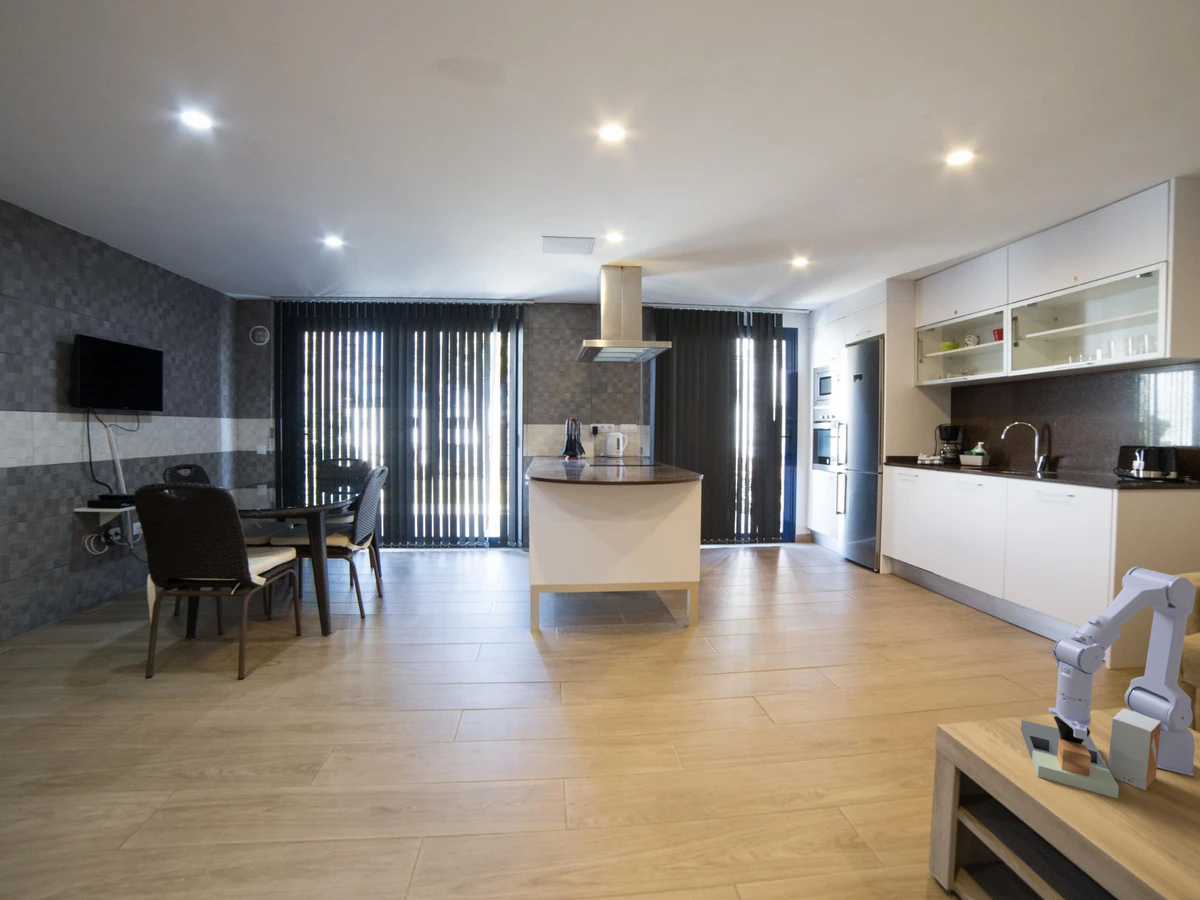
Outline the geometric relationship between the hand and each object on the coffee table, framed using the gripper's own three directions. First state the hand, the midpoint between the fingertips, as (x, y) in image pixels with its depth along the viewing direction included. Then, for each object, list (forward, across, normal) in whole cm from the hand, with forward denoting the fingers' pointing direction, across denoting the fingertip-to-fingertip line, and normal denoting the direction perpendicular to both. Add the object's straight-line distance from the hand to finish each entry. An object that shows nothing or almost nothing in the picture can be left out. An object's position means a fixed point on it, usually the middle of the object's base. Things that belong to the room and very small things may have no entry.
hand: (1069, 754), depth 121 cm
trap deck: (+3, -3, 0) cm, 5 cm away
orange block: (+1, +4, 0) cm, 4 cm away
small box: (+4, -4, +12) cm, 13 cm away
